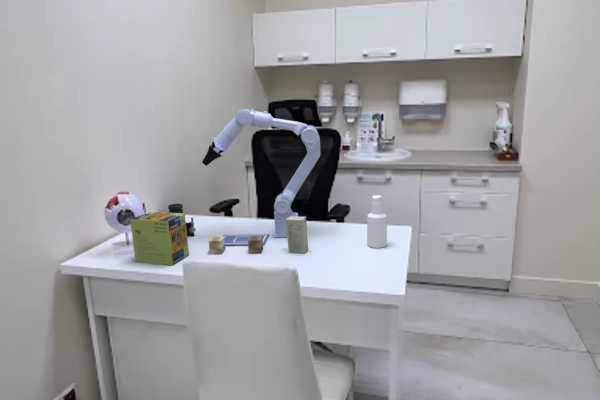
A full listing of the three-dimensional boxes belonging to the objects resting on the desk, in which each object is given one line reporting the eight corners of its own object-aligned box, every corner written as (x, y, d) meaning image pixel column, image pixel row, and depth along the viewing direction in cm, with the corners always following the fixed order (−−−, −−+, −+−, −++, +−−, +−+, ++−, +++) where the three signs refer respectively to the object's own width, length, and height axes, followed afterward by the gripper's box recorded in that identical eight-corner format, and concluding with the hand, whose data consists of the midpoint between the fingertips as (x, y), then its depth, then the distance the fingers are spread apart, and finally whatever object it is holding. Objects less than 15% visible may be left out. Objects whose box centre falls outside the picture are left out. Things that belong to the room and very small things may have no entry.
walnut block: (263, 249, 168) (262, 236, 166) (261, 253, 163) (260, 240, 162) (251, 249, 168) (250, 236, 167) (248, 253, 164) (247, 240, 162)
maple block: (225, 249, 169) (224, 236, 168) (222, 254, 165) (221, 240, 163) (213, 250, 169) (211, 237, 168) (209, 254, 165) (208, 241, 164)
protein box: (173, 265, 155) (168, 221, 152) (134, 262, 160) (129, 219, 157) (190, 255, 165) (185, 212, 161) (153, 251, 170) (148, 211, 166)
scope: (193, 201, 184) (178, 208, 175) (196, 235, 187) (182, 243, 178) (175, 201, 187) (160, 207, 178) (179, 233, 190) (164, 241, 181)
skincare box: (308, 249, 165) (307, 216, 162) (304, 253, 161) (303, 219, 158) (291, 248, 167) (290, 215, 164) (287, 252, 163) (285, 218, 160)
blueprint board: (269, 235, 183) (268, 234, 183) (264, 245, 171) (264, 244, 171) (224, 236, 184) (224, 234, 184) (216, 246, 173) (216, 244, 173)
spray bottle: (388, 243, 168) (388, 194, 164) (383, 249, 162) (383, 199, 158) (370, 241, 171) (370, 193, 167) (364, 247, 165) (364, 198, 161)
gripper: (222, 125, 180) (200, 151, 183) (217, 131, 166) (194, 158, 169) (236, 137, 182) (214, 162, 184) (233, 144, 168) (209, 171, 171)
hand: (205, 161), depth 177 cm, fingers open, 7 cm apart
